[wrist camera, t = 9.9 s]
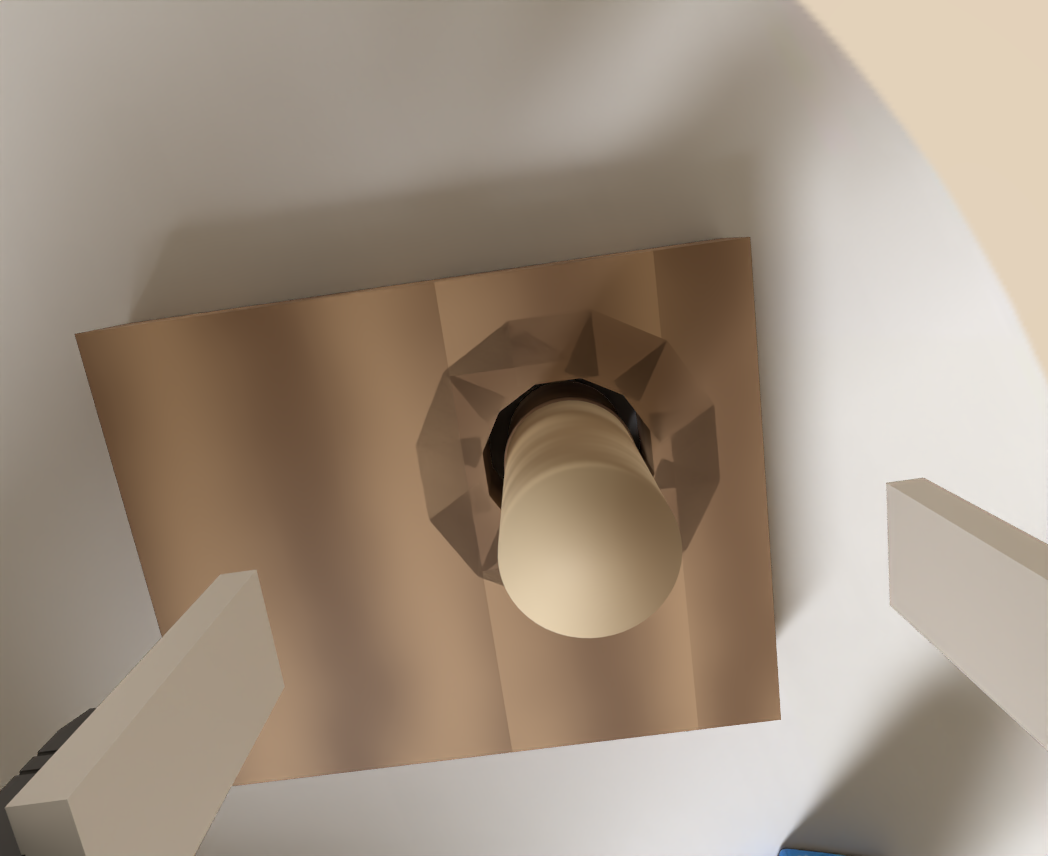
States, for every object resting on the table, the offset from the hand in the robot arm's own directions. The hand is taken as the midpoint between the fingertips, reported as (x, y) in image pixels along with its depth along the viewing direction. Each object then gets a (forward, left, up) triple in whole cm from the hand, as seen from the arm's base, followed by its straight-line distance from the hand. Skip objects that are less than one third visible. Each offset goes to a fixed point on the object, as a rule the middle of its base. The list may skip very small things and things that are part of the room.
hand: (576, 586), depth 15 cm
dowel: (0, 0, -11) cm, 11 cm away
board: (-4, -2, -11) cm, 12 cm away
